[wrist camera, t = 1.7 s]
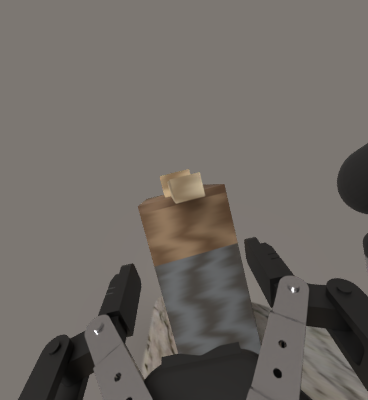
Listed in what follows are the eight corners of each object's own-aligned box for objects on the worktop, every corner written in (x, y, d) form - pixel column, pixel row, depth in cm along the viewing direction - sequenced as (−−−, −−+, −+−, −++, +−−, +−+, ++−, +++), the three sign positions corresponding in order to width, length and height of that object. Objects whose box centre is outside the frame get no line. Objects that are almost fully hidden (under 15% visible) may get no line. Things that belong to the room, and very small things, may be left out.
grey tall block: (234, 317, 46) (203, 184, 43) (268, 379, 31) (224, 184, 28) (183, 333, 45) (147, 199, 42) (193, 406, 30) (137, 206, 27)
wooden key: (188, 189, 39) (184, 172, 38) (214, 193, 19) (206, 157, 18) (164, 195, 38) (160, 178, 38) (165, 206, 18) (156, 169, 18)
